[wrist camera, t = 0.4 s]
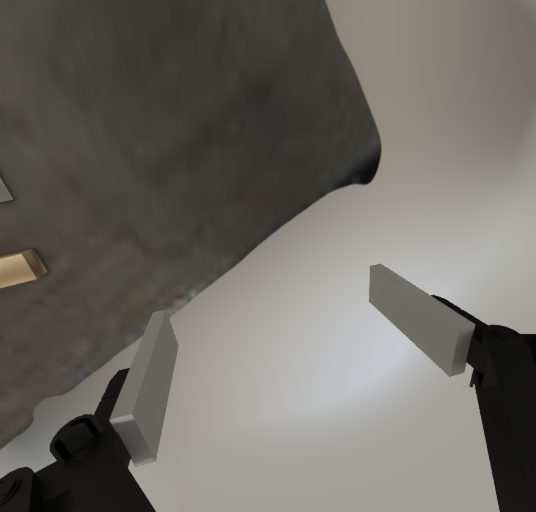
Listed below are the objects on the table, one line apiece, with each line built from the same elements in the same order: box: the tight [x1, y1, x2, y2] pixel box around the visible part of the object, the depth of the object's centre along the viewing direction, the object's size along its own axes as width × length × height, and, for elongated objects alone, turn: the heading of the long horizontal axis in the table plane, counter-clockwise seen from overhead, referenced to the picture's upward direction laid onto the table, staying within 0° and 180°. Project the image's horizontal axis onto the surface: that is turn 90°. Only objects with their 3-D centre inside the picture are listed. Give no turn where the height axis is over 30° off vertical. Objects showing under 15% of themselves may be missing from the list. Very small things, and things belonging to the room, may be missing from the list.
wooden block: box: [0, 248, 48, 288], centre depth 36 cm, size 4×6×2 cm, turn 102°
